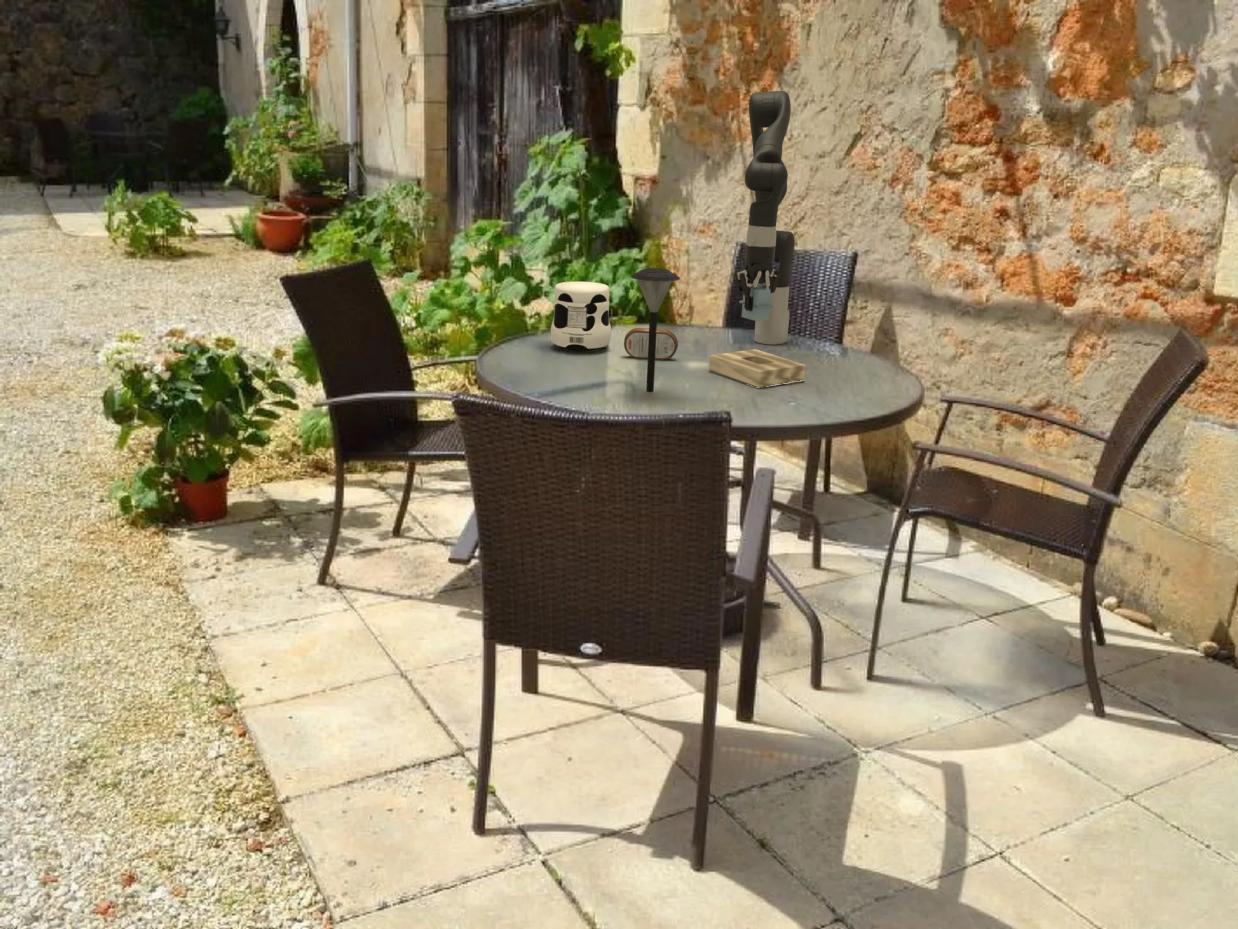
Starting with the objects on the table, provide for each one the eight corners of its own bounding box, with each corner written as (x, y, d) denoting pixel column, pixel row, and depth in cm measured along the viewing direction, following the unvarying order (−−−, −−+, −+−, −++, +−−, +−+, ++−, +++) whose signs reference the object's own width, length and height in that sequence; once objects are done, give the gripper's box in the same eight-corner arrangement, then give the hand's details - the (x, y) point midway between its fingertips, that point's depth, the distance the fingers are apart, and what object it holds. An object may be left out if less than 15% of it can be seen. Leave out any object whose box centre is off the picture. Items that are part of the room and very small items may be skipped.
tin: (677, 359, 302) (678, 329, 299) (676, 361, 299) (678, 331, 296) (623, 356, 303) (624, 326, 300) (622, 358, 300) (623, 328, 297)
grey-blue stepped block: (749, 314, 286) (752, 284, 283) (771, 321, 279) (774, 290, 276) (737, 315, 284) (740, 285, 281) (760, 322, 277) (762, 291, 274)
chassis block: (754, 365, 298) (755, 349, 296) (804, 381, 282) (806, 365, 281) (709, 371, 289) (710, 355, 288) (758, 388, 274) (759, 371, 272)
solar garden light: (679, 397, 263) (686, 274, 254) (630, 397, 261) (635, 274, 252) (668, 384, 275) (675, 266, 265) (621, 384, 273) (626, 265, 263)
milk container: (591, 339, 321) (593, 279, 315) (621, 352, 307) (624, 289, 301) (540, 344, 312) (540, 282, 306) (568, 357, 298) (569, 293, 292)
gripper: (772, 240, 282) (767, 306, 287) (729, 242, 274) (725, 309, 280) (791, 244, 276) (785, 310, 281) (748, 246, 268) (743, 314, 274)
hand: (755, 309), depth 281 cm, fingers closed on grey-blue stepped block, 4 cm apart
